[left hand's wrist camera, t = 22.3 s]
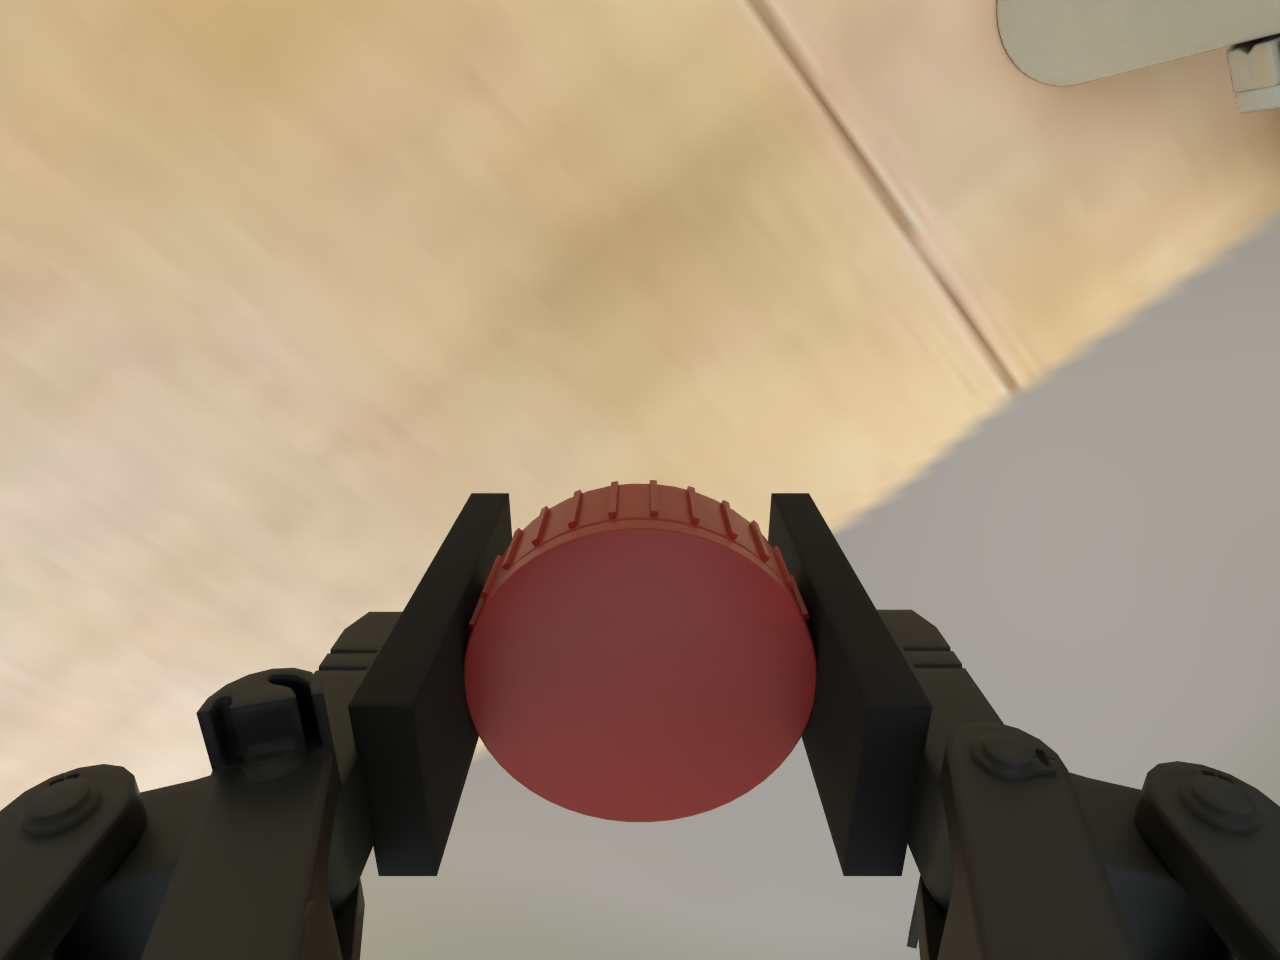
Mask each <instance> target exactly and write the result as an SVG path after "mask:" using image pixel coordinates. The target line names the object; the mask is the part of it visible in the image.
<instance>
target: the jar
mask: <svg viewBox="0 0 1280 960" xmlns="http://www.w3.org/2000/svg"><path fill="white" fill-rule="evenodd" d="M997 16H998V26H999V31H1000V36H1001V39H1002V42H1003V45H1004V47H1005V49H1006V51H1007V53H1008V55H1009V56H1010V58H1011V59H1012V61H1013V62H1014V64H1015V65H1016V66H1017V67H1018V68H1019V69H1020V70H1021V71H1022V72H1024V73H1025V74H1026V75H1028V76H1029V77H1031V78H1033V79H1035V80H1037V81H1039V82H1042V83H1045V84H1050V85H1056V86H1069V85H1076V84H1081V83H1085V82H1088V81H1092V80H1096V79H1100V78H1104V77H1108V76H1112V75H1116V74H1120V73H1124V72H1128V71H1132V70H1136V69H1140V68H1144V67H1148V66H1152V65H1156V64H1160V63H1164V62H1168V61H1172V60H1176V59H1179V58H1183V57H1187V56H1191V55H1195V54H1199V53H1203V52H1207V51H1211V50H1215V49H1219V48H1223V47H1227V46H1231V45H1235V44H1239V43H1243V42H1247V41H1251V40H1255V39H1259V38H1263V37H1267V36H1270V35H1274V34H1278V33H1280V0H998V5H997Z"/></svg>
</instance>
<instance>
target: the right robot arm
mask: <svg viewBox="0 0 1280 960" xmlns="http://www.w3.org/2000/svg"><path fill="white" fill-rule="evenodd" d="M1226 52H1227V57H1228V63H1229V68H1230V74H1231V79H1232V85H1233V90H1234V92H1235V96H1236V101H1237V107H1238V113H1247V112H1254V111H1261V110H1268V109H1275V108H1280V33H1278V34H1274V35H1270V36H1267V37H1263V38H1259V39H1255V40H1251V41H1247V42H1243V43H1239V44H1235V45H1233V46H1232V47H1230V48H1229V49H1228V50H1227V51H1226Z"/></svg>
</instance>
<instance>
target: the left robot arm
mask: <svg viewBox="0 0 1280 960" xmlns="http://www.w3.org/2000/svg"><path fill="white" fill-rule="evenodd" d="M511 541H512V530H511V516H510V503H509V493H472V494H471V495H470V497H469V499H468V501H467V502H466V504H465V506H464V507H463V509H462V511H461V513H460V514H459V516H458V518H457V519H456V521H455V523H454V525H453V526H452V528H451V530H450V532H449V533H448V535H447V537H446V538H445V540H444V542H443V544H442V545H441V547H440V549H439V550H438V552H437V554H436V556H435V557H434V559H433V561H432V563H431V564H430V566H429V568H428V569H427V571H426V573H425V575H424V576H423V578H422V580H421V581H420V583H419V585H418V587H417V588H416V590H415V592H414V593H413V595H412V597H411V599H410V600H409V602H408V604H407V606H406V607H405V609H404V611H403V612H368V613H367V614H366V615H364V616H363V617H361V618H360V619H359V620H357V621H356V622H354V623H353V624H352V625H350V626H349V627H347V628H346V629H345V630H344V631H343V633H342V634H341V635H340V637H339V638H338V640H337V641H336V643H335V644H334V646H333V647H332V648H331V653H330V654H327V656H326V657H325V658H324V660H323V661H322V663H321V664H320V666H319V671H315V673H314V674H313V673H312V672H309V671H305V670H301V669H296V668H281V669H270V670H266V671H262V672H258V673H254V674H250V675H247V676H245V677H243V678H240V679H238V680H236V681H234V682H232V683H229V684H227V685H225V686H224V687H223V688H221V689H220V690H219V691H217V692H216V693H214V694H213V695H212V696H210V697H209V698H208V699H207V700H206V701H205V703H204V704H203V705H202V707H201V708H200V709H199V711H198V712H197V717H198V720H199V724H200V727H201V731H202V734H203V738H204V742H205V745H206V749H207V752H208V756H209V759H210V763H211V767H212V770H213V771H212V774H211V775H210V776H207V777H204V778H200V779H197V780H194V781H189V782H185V783H181V784H176V785H172V786H167V787H163V788H159V789H154V790H150V791H145V792H141V793H140V792H139V789H138V786H137V783H136V780H135V777H134V775H133V774H131V773H130V772H129V771H128V770H127V769H125V768H124V767H121V766H114V765H107V764H102V765H95V766H88V767H81V768H77V769H74V770H71V771H68V772H66V773H62V774H60V775H57V776H54V777H51V778H50V779H48V780H46V781H44V782H42V783H40V784H38V785H37V786H35V787H33V788H31V789H29V790H27V791H25V792H24V793H23V794H21V795H20V796H19V797H18V798H16V799H15V800H14V801H12V802H11V803H10V804H9V805H7V806H6V807H5V808H4V809H2V810H1V811H0V960H360V950H361V939H362V928H363V917H364V906H365V903H364V897H363V890H362V885H361V880H360V876H361V874H362V871H363V869H364V867H365V864H366V862H367V859H368V857H369V855H370V852H371V850H372V847H373V846H374V852H375V857H376V863H377V868H378V874H379V876H437V873H438V870H439V866H440V863H441V860H442V857H443V853H444V850H445V847H446V843H447V840H448V837H449V833H450V830H451V827H452V823H453V820H454V817H455V813H456V810H457V807H458V804H459V800H460V797H461V794H462V790H463V787H464V784H465V780H466V777H467V774H468V770H469V767H470V764H471V761H472V757H473V754H474V751H475V747H476V744H477V741H478V737H479V735H478V733H477V731H476V728H475V726H474V724H473V721H472V719H471V717H470V713H469V710H468V706H467V699H466V691H465V681H464V656H465V652H466V647H467V643H468V638H469V636H470V633H471V631H472V630H469V629H468V625H469V622H470V620H471V617H472V615H473V612H474V610H475V608H476V605H477V603H478V600H479V598H480V595H481V593H482V590H483V588H484V585H485V583H486V581H487V578H488V576H489V573H490V571H491V568H492V566H493V563H494V561H495V559H496V557H497V555H499V556H501V557H503V555H504V553H505V551H506V550H507V548H508V547H509V546H510V543H511ZM768 542H769V544H770V545H771V546H772V548H774V547H775V546H778V548H779V549H780V551H781V554H782V556H783V559H784V561H785V564H786V566H787V569H788V571H789V574H790V575H793V577H794V579H795V582H796V584H797V587H798V589H799V592H800V594H801V597H802V599H803V601H804V604H805V606H806V609H807V611H808V614H809V617H810V619H807V620H805V621H806V624H807V626H808V629H809V632H810V634H811V637H812V640H813V644H814V649H815V654H816V659H817V677H816V687H815V696H814V704H813V708H812V712H811V715H810V719H809V721H808V723H807V725H806V727H805V730H804V732H803V734H802V739H803V743H804V746H805V749H806V752H807V756H808V759H809V762H810V766H811V769H812V772H813V776H814V779H815V782H816V786H817V789H818V792H819V796H820V799H821V802H822V805H823V809H824V812H825V815H826V819H827V822H828V825H829V829H830V832H831V835H832V838H833V842H834V845H835V848H836V852H837V855H838V858H839V862H840V865H841V868H842V872H843V875H844V876H901V875H902V871H903V865H904V859H905V854H906V849H907V843H908V845H909V848H910V850H911V852H912V855H913V857H914V860H915V862H916V864H917V867H918V869H919V872H920V874H921V875H920V880H919V885H918V890H917V895H916V900H915V905H914V910H913V915H912V920H911V926H910V931H909V937H908V943H907V946H908V947H912V948H916V947H917V943H918V938H919V948H920V959H921V960H1280V807H1279V806H1278V805H1277V804H1276V803H1274V802H1273V801H1272V800H1271V799H1269V798H1268V797H1267V796H1266V795H1264V794H1263V793H1262V792H1260V791H1259V790H1258V789H1256V788H1254V787H1252V786H1251V785H1249V784H1247V783H1245V782H1243V781H1241V780H1239V779H1238V778H1236V777H1234V776H1232V775H1230V774H1227V773H1224V772H1222V771H1219V770H1216V769H1213V768H1210V767H1207V766H1204V765H1199V764H1192V763H1186V762H1179V761H1176V762H1169V763H1162V764H1158V765H1156V766H1155V767H1154V768H1153V769H1151V770H1150V771H1149V772H1148V773H1147V776H1146V779H1145V782H1144V785H1143V788H1142V790H1139V789H1135V788H1130V787H1126V786H1121V785H1117V784H1112V783H1108V782H1104V781H1099V780H1095V779H1091V778H1086V777H1083V776H1080V775H1076V774H1073V773H1070V772H1068V770H1067V768H1066V767H1065V765H1064V764H1063V762H1062V761H1061V759H1060V758H1059V756H1058V755H1057V753H1055V752H1054V751H1053V750H1052V749H1051V748H1049V747H1048V746H1047V745H1046V744H1044V743H1043V742H1042V741H1041V740H1040V739H1038V738H1036V737H1034V736H1032V735H1030V734H1028V733H1026V732H1024V731H1022V730H1020V729H1018V728H1014V727H1011V726H1007V725H1004V724H1003V722H1002V721H1001V719H1000V718H999V716H998V715H997V714H996V712H995V711H994V709H993V708H992V706H991V705H990V704H989V702H988V701H987V699H986V698H985V696H984V695H983V694H982V692H981V691H980V689H979V688H978V686H977V685H976V684H975V682H974V681H973V679H972V678H971V676H970V675H969V673H968V672H967V671H966V669H965V668H962V663H961V662H960V661H959V659H958V658H957V656H956V655H955V653H954V652H953V651H950V646H949V645H948V643H947V642H946V641H945V639H944V638H943V636H942V635H941V633H940V632H939V631H938V629H937V628H936V627H935V626H934V625H932V624H931V623H930V622H928V621H927V620H925V619H924V618H922V617H921V616H920V615H918V614H917V613H915V612H914V611H913V610H876V608H875V606H874V605H873V603H872V601H871V600H870V598H869V596H868V594H867V593H866V591H865V589H864V588H863V586H862V584H861V582H860V581H859V579H858V577H857V575H856V574H855V572H854V570H853V569H852V567H851V565H850V563H849V562H848V560H847V558H846V557H845V555H844V553H843V551H842V550H841V548H840V546H839V545H838V543H837V541H836V539H835V538H834V536H833V534H832V532H831V531H830V529H829V527H828V526H827V524H826V522H825V520H824V519H823V517H822V515H821V514H820V512H819V510H818V508H817V507H816V505H815V503H814V501H813V500H812V498H811V496H810V495H809V493H772V495H771V509H770V523H769V536H768Z"/></svg>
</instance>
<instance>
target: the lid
mask: <svg viewBox="0 0 1280 960" xmlns="http://www.w3.org/2000/svg"><path fill="white" fill-rule="evenodd" d="M807 619H810V617H809V614H808V611H807V609H806V606H805V604H804V601H803V599H802V597H801V594H800V592H799V589H798V587H797V584H796V582H795V579H794V577H793V575H790V574H789V571H788V569H787V566H786V564H785V561H784V559H783V556H782V554H781V551H780V549H779V548H778V546H775V547H774V548H772V546H771V545H770V544H769V542H768V541H767V540H766V538H765V537H764V536H763V535H762V534H761V531H760V529H759V526H758V524H757V523H756V522H755V521H754V520H753V521H752V522H751V523H750V522H748V521H747V520H746V519H744V518H743V517H742V516H740V515H739V514H738V513H736V512H735V511H734V510H732V509H730V505H729V503H728V502H726V501H725V500H723V501H722V503H719V502H718V501H716V500H714V499H711V498H709V497H706V496H704V495H701V494H699V493H696V492H695V489H694V488H693V487H689V486H688V488H687V490H685V489H681V488H677V487H672V486H664V485H657V481H655V480H650V484H625V485H618V481H616V482H611V486H608V487H604V488H600V489H596V490H592V491H588V492H585V493H582V492H581V490H579V491H576V492H574V497H572V498H569V499H567V500H565V501H563V502H561V503H559V504H558V505H556V506H554V507H552V508H550V509H549V508H548V507H547V506H546V507H544V508H542V510H541V513H540V516H539V517H537V518H536V519H535V520H533V521H532V522H531V523H530V524H529V525H528V526H527V527H526V528H525V529H524V530H523V531H522V530H521V529H519V528H518V529H517V530H516V531H515V533H514V535H513V538H512V541H511V543H510V546H509V547H508V548H507V550H506V551H505V553H504V555H503V557H501V556H499V555H497V557H496V559H495V561H494V563H493V566H492V568H491V571H490V573H489V576H488V578H487V581H486V583H485V585H484V588H483V590H482V593H481V595H480V598H479V600H478V603H477V605H476V608H475V610H474V612H473V615H472V617H471V620H470V622H469V625H468V629H469V630H472V631H471V633H470V636H469V638H468V643H467V647H466V652H465V656H464V681H465V691H466V699H467V706H468V710H469V713H470V717H471V719H472V721H473V724H474V726H475V728H476V731H477V733H478V735H479V736H480V738H481V740H482V741H483V743H484V745H485V746H486V748H487V750H488V751H489V752H490V753H491V754H492V756H493V757H494V758H495V759H496V761H497V762H498V763H499V764H500V765H501V766H502V767H503V768H504V769H505V770H506V771H507V772H508V773H509V774H510V775H511V776H512V777H513V778H514V779H516V780H517V781H518V782H520V783H521V784H522V785H524V786H525V787H526V788H528V789H529V790H530V791H532V792H534V793H536V794H537V795H539V796H541V797H542V798H544V799H546V800H548V801H550V802H552V803H554V804H557V805H559V806H561V807H563V808H566V809H568V810H572V811H575V812H578V813H581V814H584V815H588V816H592V817H597V818H602V819H606V820H615V821H624V822H656V821H667V820H674V819H679V818H684V817H689V816H693V815H696V814H700V813H703V812H706V811H710V810H712V809H715V808H717V807H719V806H722V805H724V804H727V803H729V802H731V801H733V800H735V799H736V798H738V797H740V796H742V795H744V794H745V793H747V792H749V791H750V790H752V789H753V788H754V787H756V786H757V785H758V784H760V783H761V782H763V781H764V780H765V779H766V778H767V777H768V776H770V775H771V774H772V773H773V772H774V771H775V770H776V769H777V768H778V767H779V766H780V765H781V764H782V763H783V761H784V760H785V759H786V758H787V757H788V756H789V754H790V753H791V752H792V750H793V749H794V747H795V746H796V744H797V742H798V741H799V739H800V738H801V736H802V734H803V732H804V730H805V727H806V725H807V723H808V721H809V719H810V715H811V712H812V708H813V704H814V696H815V687H816V677H817V659H816V654H815V649H814V644H813V640H812V637H811V634H810V632H809V629H808V626H807V624H806V621H805V620H807Z"/></svg>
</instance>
